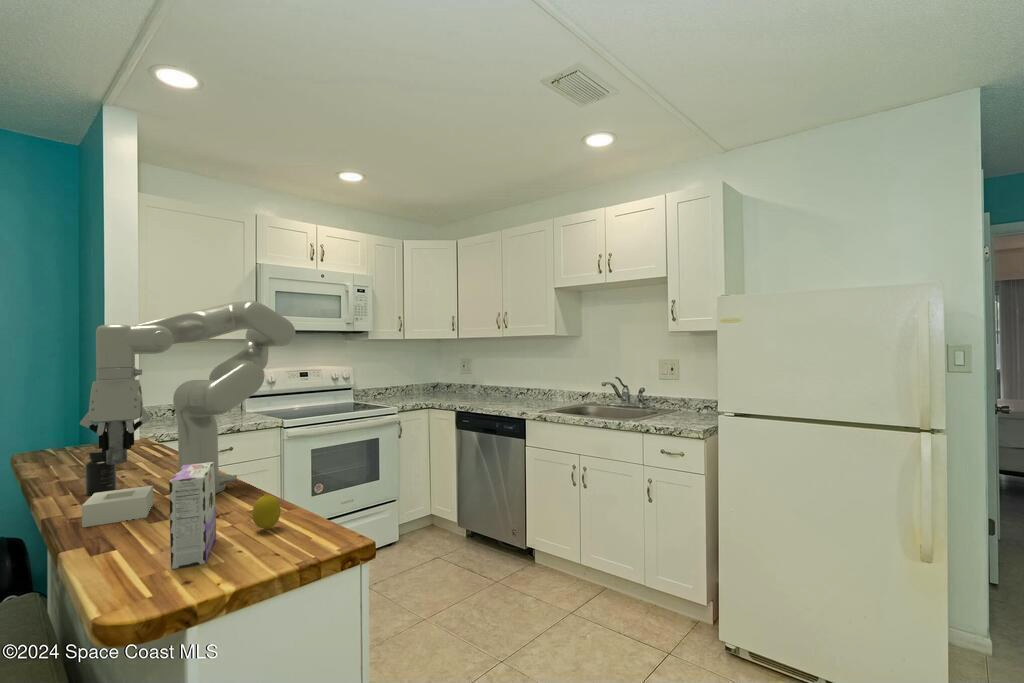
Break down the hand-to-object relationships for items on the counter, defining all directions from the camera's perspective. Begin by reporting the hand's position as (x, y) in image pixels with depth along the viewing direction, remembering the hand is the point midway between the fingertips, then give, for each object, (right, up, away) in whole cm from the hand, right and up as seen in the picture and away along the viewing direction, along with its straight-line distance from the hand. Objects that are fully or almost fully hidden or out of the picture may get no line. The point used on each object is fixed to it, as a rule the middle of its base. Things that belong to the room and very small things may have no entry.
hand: (116, 449), depth 124 cm
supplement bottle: (-21, -17, +21) cm, 35 cm away
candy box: (+35, -15, -25) cm, 45 cm away
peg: (0, -3, 0) cm, 3 cm away
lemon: (+43, -15, -13) cm, 48 cm away
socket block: (+1, -16, 0) cm, 16 cm away
